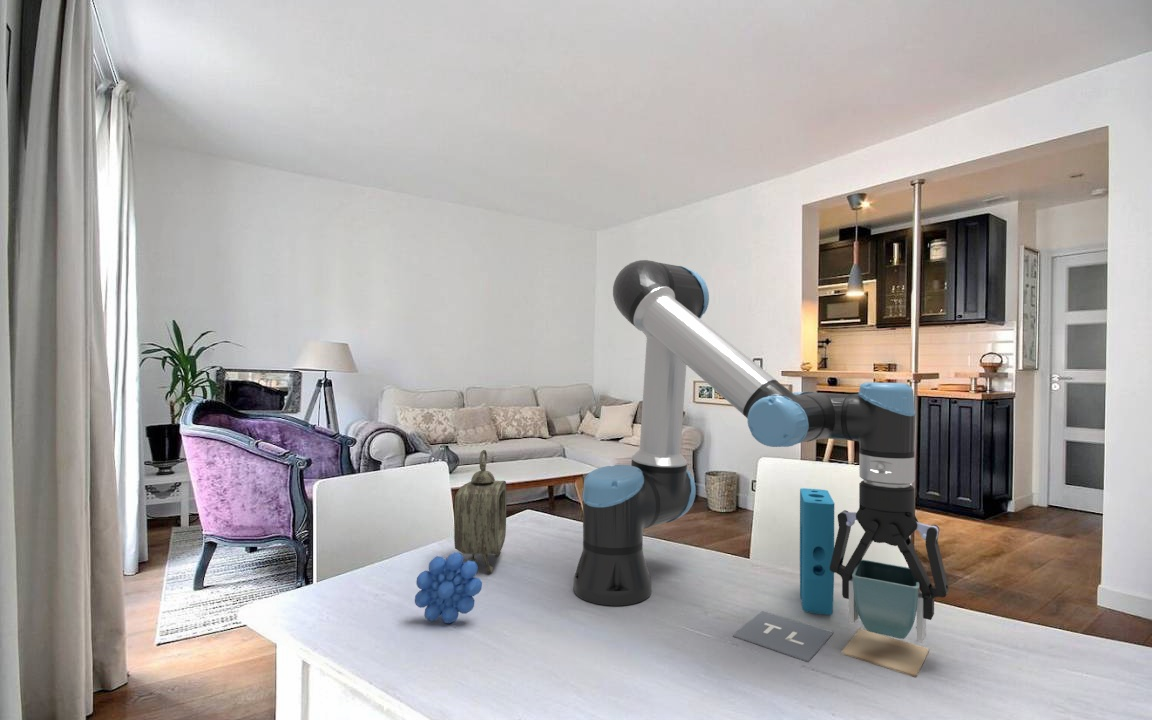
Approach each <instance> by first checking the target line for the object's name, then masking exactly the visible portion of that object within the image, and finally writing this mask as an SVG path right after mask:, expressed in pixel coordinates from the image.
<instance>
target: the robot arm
mask: <svg viewBox="0 0 1152 720" xmlns="http://www.w3.org/2000/svg"><path fill="white" fill-rule="evenodd" d="M612 285H613V286H612V297H613V301H614V304H615V306H616V308H617V310H618V311H619V313H620V314H621V316H623V317H624V318H625V319H626V320H627V322H628V323H630V324H631V325H632V326H634V328H636V329H637V330H638V331H640V332H642V333H643V334H644V335H645V337H646V341H645V342H646V346H645V359H644V361H645V363H644V374H643V375H644V376H643V389H642V391H643V392H642V393H643V394H642V407H641V419H640V420H641V423H640V436H639V437H640V438H639V439H640V440H639V449H638V451H636V452H635V453H634V454H633V455H632V456H631V465H628V464H615V465H606V466H601V467H597V468H596V469H595V468H594V469H593V470H591V471H590V472H589V473H587V474H586V476H585V477H584V480H583V491H582V496H581V497H582V498H581V499H582V535H583V536H582V551H581V555H580V558H579V560H578V561H579V562H578V564H577V567H576V569H575V570H576V571H575V574H574V576H573V591H574V593H575V595H577V596H578V597H579V598H581V599H582V600H584V601H586V602H590V603H593V604H598V605H603V606H616V607H617V606H628V605H629V606H630V605H634V604H638V603H640V602H643V601H645V600H647V599H649V597H651V595H652V578H651V577H652V576H651V575H650V573H649V569H648V565H647V561H646V558H645V556H644V555H645V554H644V550H643V546H644V544H643V543H644V542H643V541H644V539H643V538H644V537H643V535H644V532H643V530H644V529H648V528H651V527H655V526H658V525H661V524H665V523H670V522H671V523H672V522H674V521H676V520H678V519H679V518H681V517H683V516H685V514H687V513H688V512H689V510H690V509H691V508H692V507H693V505H694V502H695V499H696V494H697V493H696V489H697V488H696V483H695V479H694V478H693V477H692V473H691V472H690V471H689V469H688V461H687V460H686V458H685V457H684V456H683V454H682V453H681V449H682V448H681V446H682V432H683V419H684V417H683V416H684V408H685V407H684V404H685V393H686V392H685V388H686V379H687V377H686V376H687V374H686V373H687V367H688V368H690V369H691V370H692V371H693V372H694V373H695V374H696V375H697V376H699V377H700V378H701V379H702V380H703V381H704V382H705V383H707V384H708V385H709V386H710V387H711V388H712V389H713V390H715V391H716V392H717V393H718V394H719V395H720V396H721V397H723V398H724V399H725V401H727V402H728V404H731V406H732V407H734V408H735V409H736V410H737V411H738V412H739V413H741V414H742V415H743V416H744V417H745V418H746V419H747V426H748V429H749V431H750V433H751V435H752V437H753V438H754V439H755V440H756V441H757V442H758V443H760V444H762V445H764V446H766V447H772V448H781V447H782V448H783V447H784V448H788V447H794V446H795V445H798V444H801V443H806V442H807V443H809V442H811V441H818V440H822V439H828V440H829V439H830V440H843V441H848V442H849V441H853V442H858V444H859V446H858V447H859V451H858V452H859V454H858V455H859V459H858V460H859V461H858V462H859V463H858V464H859V469H858V471H859V473H858V474H859V475H858V476H859V478H861V481H860V482H859V494H858V495H859V498H858V499H859V500H858V502H859V503H858V504H859V505H858V506H859V507H858V509H857V512H855V511H854V512H852V511H851V512H849V511H848V510H842V511H841V512H839V513H838V514H837V522H838V530H837V535H836V539H835V541H834V551H833V555H832V559H831V564H830V570H831V572H833V573H834V574H837V575H839V576H840V578H841V580H842V581H841V585H842V586H841V587H842V589H841V590H842V591H841V595H842V598H843V599H846V600H848V623H850V624H855V623H856V622H857V620H858V619H860V617H859V615H858V612H857V609H856V604H855V597H854V588H853V579H852V574H853V572H854V570H855V567H856V566H857V565H858V564H859V563H860V562H861V560H863V558H864V556H865V555H866V553H867V551H868V549H869V548H870V546H871V545H872V543H877V544H884V543H885V544H887V545H890V546H892V547H897V548H898V550H899V552H900V553H901V554H902V556H903V558H904V560H905V562H906V564H907V567H908V568H910V570H911V572H912V574H913V576H914V578H915V580H916V582H919V593H918V602H917V611H916V642H919V643H924V641H925V639H926V636H927V620H930V621H932V620H933V617H934V615H935V598H945V597H946V596H947V595H948V593H949V591H950V588H949V583H948V578H947V575H946V571H945V570H946V569H945V567H944V562H943V559H942V554H941V550H940V549H941V548H940V546H939V535H940V527H939V526H938V525H937V524H931V525H930V524H926V523H923V522H919V520H918V518H917V517H916V511H915V504H916V503H915V502H916V501H915V498H916V497H915V495H916V493H915V491H916V490H915V487H914V486H913V485H912V484H913V483H915V482H916V481H915V479H916V478H915V477H916V475H915V474H916V468H915V466H916V465H915V464H916V459H915V436H916V435H915V426H916V421H915V420H916V416H917V415H916V414H917V413H916V410H915V398H914V397H915V396H914V390H913V387H912V386H911V385H910V384H907V383H904V382H873V381H871V382H862V383H861V384H860V385H859V389H858V390H859V391H858V392H857V393H850V394H847V393H846V394H845V393H844V394H843V393H833V392H832V393H831V392H830V393H829V392H814V391H801V392H799V391H797V392H796V391H795V392H792V391H791V390H790V389H788V387H786V386H785V385H784V384H782V383H780V382H779V381H778V380H777V379H776V378H775V377H773V376H772V375H771V374H769V373H768V372H767V371H766V370H764V369H763V368H762V367H761V366H760V365H758V364H757V363H756V362H754V361H753V360H752V359H751V358H749V357H748V356H747V355H746V354H744V353H743V352H742V351H741V350H740V349H739V348H737V347H736V346H734V345H733V344H732V343H730V342H729V341H728V340H727V339H726V338H725V337H723V336H722V335H721V334H719V333H718V332H717V331H716V330H715V329H713V328H712V327H711V326H709V325H708V324H707V323H706V322H704V321H703V320H702V317H703V315H705V314H706V312H707V310H708V307H709V303H710V294H709V293H710V292H709V289H708V285H707V284H706V282H705V279H704V278H702V276H701V275H700V274H699V273H698V272H696V271H694V270H692V269H689V268H687V267H685V266H683V265H676V264H675V265H674V264H669V263H663V262H658V261H657V262H656V261H655V260H654V261H653V260H648V259H639V260H635V261H632V262H630V263H629V264H627V265H625V266H624V267H623V268H622V269H620V271H619V272H618V274H617V276H616V277H615V280H614V282H613V284H612ZM855 521H857V522H858V524H859V525H860V527H861V528H862V529H863V531H864V533H863V535H862V537H861V538H860V539H859V542H858V544H857V545H856V548H855V549H854V552H853V553H852V555H850V558H849V560H848V562H847V563H846V565H844V559H845V554H846V550H847V546H848V542H849V537H850V534H851V530H852V529H851V528H852V527H853V526H854V525H855V523H856V522H855ZM915 531H918V532H919V534H920V537H921V539H922V540H924V541H925V550H926V553H927V558H928V561H929V562H928V563H929V566H930V567H929V568H930V569H931V574H932V579H933V582H934V585H933V583H932V581H931V580H930V578H929V577H930V576H928V575H929V574H928V573H927V572H926V569H925V567H924V565H923V563H922V561H921V559H920V558H919V555H918V554H917V552H916V549H915V546H914V543H913V541H912V539H911V536H912V535H913V533H914V532H915Z"/></svg>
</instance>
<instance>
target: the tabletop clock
mask: <svg viewBox="0 0 1152 720" xmlns="http://www.w3.org/2000/svg"><path fill="white" fill-rule="evenodd" d="M483 456H484V462H483ZM487 463H488V454H487V451H486V449H483V450H481V452H480V455H479V469H480V470H478V471H476V472H475V473H474V474H473V475H472V476H471V479H470V481H469V482H467V483H465V484H463V485H462V486H460V488H459V489H458V491H457V492H456V494H455V497H454V515H453V517H454V520H453V522H454V524H453V527H454V529H453V532H454V533H453V534H454V537H453V538H454V539H453V540H454V549H455V550H457V551H458V552H459V553H462V554H463V555H471V557H469V558H468V559H467V561H474V562H475V563H477V562H476V558H475V556H476V555H481V556H482V557H483V560H484V561H485V563H486V564H485V565H486V567H485V572H486V573H487V574H491V573H493V571H494V567H493V565H490V561H489V557H488V555H494V556H496V557H498V556H500V555H501V553H502V552H501V551H502V549H503V546H504V543H505V540H506V535H507V534H506V533H507V482H506V480H496V479H495V477H494V474H493V473H492V472H491V471H490V470H489V471H488V470H487V469H486V467H487Z"/></svg>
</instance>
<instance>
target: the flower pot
mask: <svg viewBox="0 0 1152 720" xmlns="http://www.w3.org/2000/svg"><path fill="white" fill-rule="evenodd" d="M852 579H853V588H854V597H855V604H856V609H857V612H858V615H859V619H860V621H861V623H862V625H863V627H864V628H865V630H866V631H869V632H873V633H876V634H880V635H883V636H887V637H890V638H894V639H898V640H900V639H901V640H904V639H906V638H907V636H908V635H909V633H911V630H912V629H913V626H914V623H915V621H916V618H917V602H918V594H919V593H920V589H919V582H916V580H915V578H914V576H913V574H912V572H911V570H910V568H909V566H907V567H906V566H900V565H895V564H890V563H886V562H885V563H884V562H879V561H874V560H868V559H862V560H861V562H860V563H859V564H858V565H857V566H856V567H855V570H854V572H853V574H852Z"/></svg>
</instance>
